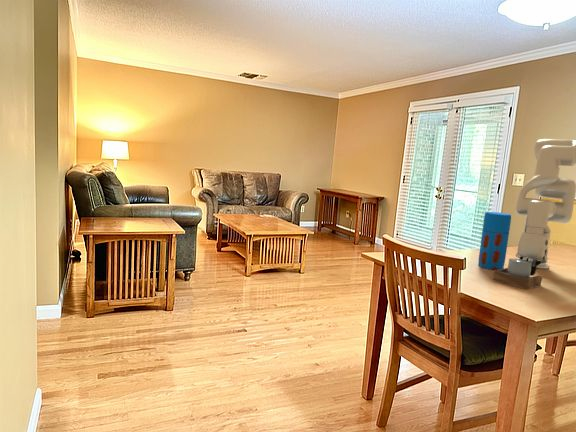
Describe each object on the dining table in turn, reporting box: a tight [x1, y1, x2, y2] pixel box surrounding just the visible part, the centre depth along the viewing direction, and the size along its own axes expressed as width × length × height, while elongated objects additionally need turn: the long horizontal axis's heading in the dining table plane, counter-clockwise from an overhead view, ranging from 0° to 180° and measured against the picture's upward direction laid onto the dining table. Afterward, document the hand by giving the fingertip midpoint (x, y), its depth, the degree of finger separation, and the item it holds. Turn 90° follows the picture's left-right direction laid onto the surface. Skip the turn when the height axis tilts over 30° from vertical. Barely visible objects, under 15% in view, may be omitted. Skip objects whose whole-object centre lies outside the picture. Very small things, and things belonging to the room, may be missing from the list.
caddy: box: [492, 267, 543, 290], centre depth 165 cm, size 12×13×4 cm
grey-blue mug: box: [507, 258, 532, 278], centre depth 166 cm, size 14×8×9 cm, turn 125°
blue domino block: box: [477, 211, 512, 271], centre depth 187 cm, size 11×11×25 cm
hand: (528, 274), depth 170 cm, fingers closed on grey-blue mug
